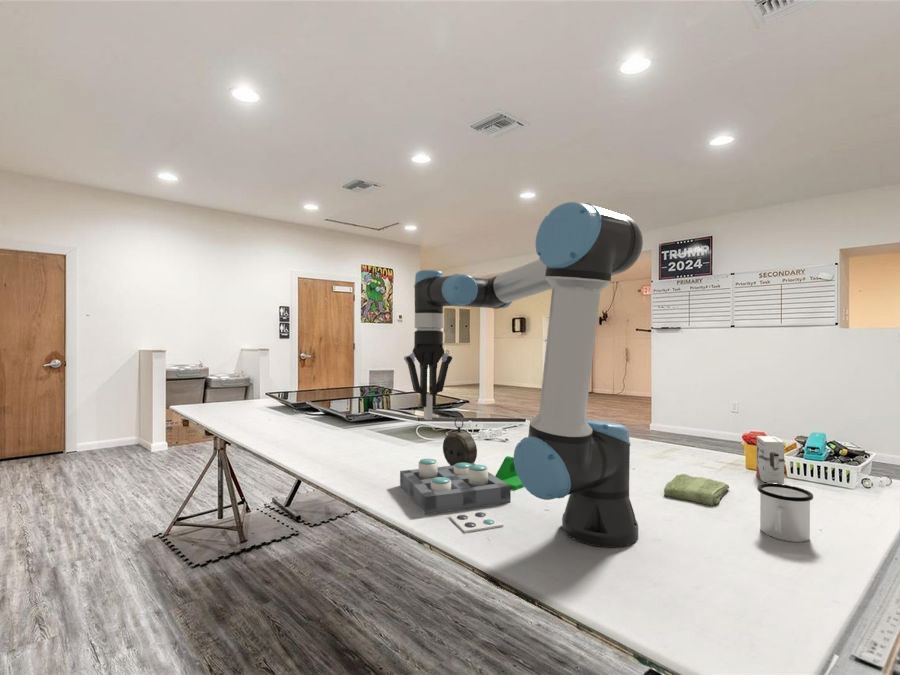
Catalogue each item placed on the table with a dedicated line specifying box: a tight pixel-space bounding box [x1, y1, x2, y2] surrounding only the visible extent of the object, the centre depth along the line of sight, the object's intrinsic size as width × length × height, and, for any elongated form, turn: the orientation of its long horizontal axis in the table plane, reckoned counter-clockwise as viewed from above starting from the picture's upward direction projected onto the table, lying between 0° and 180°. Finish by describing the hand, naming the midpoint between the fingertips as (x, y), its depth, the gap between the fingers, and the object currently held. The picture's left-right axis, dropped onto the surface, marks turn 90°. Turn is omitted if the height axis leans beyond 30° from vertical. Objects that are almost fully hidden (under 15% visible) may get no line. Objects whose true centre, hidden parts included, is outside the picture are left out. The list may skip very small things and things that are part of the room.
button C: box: [468, 464, 489, 487], centre depth 119 cm, size 5×5×4 cm
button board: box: [399, 462, 512, 515], centre depth 122 cm, size 22×22×4 cm
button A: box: [431, 477, 451, 492], centre depth 115 cm, size 5×5×4 cm
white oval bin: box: [756, 483, 814, 543], centre depth 96 cm, size 12×10×9 cm
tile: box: [448, 509, 504, 534], centre depth 103 cm, size 9×9×1 cm
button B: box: [418, 458, 439, 479], centre depth 124 cm, size 5×5×4 cm
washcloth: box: [663, 473, 730, 506], centre depth 123 cm, size 13×18×3 cm
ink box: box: [756, 435, 786, 485], centre depth 134 cm, size 9×5×12 cm, turn 161°
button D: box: [454, 463, 471, 476], centre depth 128 cm, size 5×5×4 cm
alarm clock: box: [442, 417, 478, 466], centre depth 142 cm, size 11×5×16 cm, turn 45°
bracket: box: [494, 456, 525, 491], centre depth 131 cm, size 12×8×7 cm, turn 134°
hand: (427, 419), depth 124 cm, fingers closed
